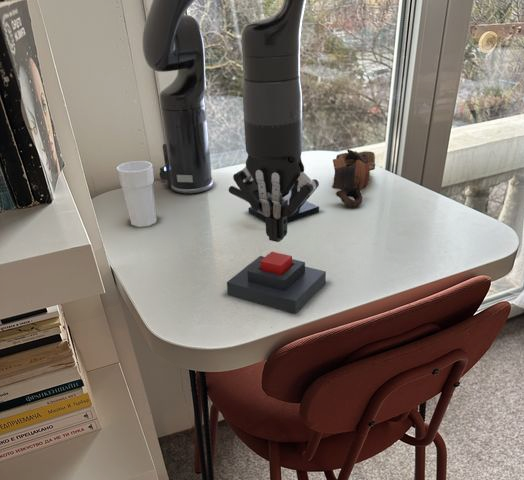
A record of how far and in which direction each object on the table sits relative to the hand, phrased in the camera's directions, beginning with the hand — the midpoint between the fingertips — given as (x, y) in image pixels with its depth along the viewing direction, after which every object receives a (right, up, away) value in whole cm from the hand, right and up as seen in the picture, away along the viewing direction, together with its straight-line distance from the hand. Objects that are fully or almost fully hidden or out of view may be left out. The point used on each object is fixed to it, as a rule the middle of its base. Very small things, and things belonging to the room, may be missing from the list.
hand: (276, 239), depth 81 cm
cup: (-26, +9, +29) cm, 40 cm away
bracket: (+2, +11, +29) cm, 32 cm away
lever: (-1, +16, +23) cm, 28 cm away
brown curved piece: (+14, +25, +40) cm, 49 cm away
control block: (0, -7, +5) cm, 9 cm away
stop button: (0, -4, +3) cm, 5 cm away
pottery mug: (+12, +19, +31) cm, 38 cm away
